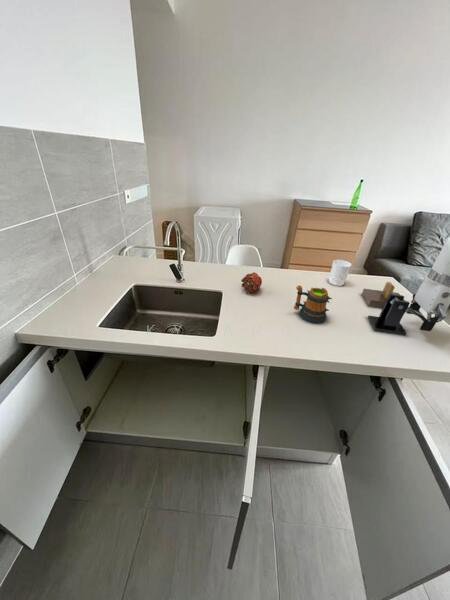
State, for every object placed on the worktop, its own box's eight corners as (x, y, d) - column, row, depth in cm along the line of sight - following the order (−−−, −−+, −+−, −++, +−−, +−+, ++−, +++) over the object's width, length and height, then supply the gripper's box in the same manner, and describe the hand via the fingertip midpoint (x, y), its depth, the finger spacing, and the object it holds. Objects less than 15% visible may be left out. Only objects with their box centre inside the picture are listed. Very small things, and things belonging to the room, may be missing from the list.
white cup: (347, 286, 112) (354, 267, 107) (331, 286, 112) (337, 266, 107) (340, 279, 119) (347, 260, 114) (324, 278, 119) (330, 259, 113)
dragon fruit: (249, 300, 101) (248, 290, 112) (267, 290, 98) (264, 281, 109) (238, 284, 98) (238, 275, 109) (256, 273, 96) (255, 265, 107)
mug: (325, 311, 94) (333, 284, 88) (327, 326, 85) (337, 298, 79) (291, 305, 96) (296, 279, 90) (290, 319, 88) (296, 291, 82)
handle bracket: (395, 322, 90) (410, 294, 84) (405, 335, 83) (421, 306, 77) (367, 317, 91) (379, 290, 85) (374, 331, 84) (387, 302, 78)
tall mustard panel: (381, 293, 102) (386, 281, 99) (385, 293, 102) (390, 281, 99) (385, 298, 98) (391, 286, 95) (389, 299, 98) (395, 286, 95)
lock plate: (395, 298, 105) (398, 292, 103) (405, 311, 96) (409, 304, 95) (361, 294, 107) (363, 288, 105) (368, 306, 98) (371, 299, 97)
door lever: (415, 314, 86) (421, 309, 84) (424, 324, 81) (430, 319, 79) (387, 299, 85) (393, 294, 84) (394, 308, 80) (400, 303, 78)
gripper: (476, 292, 67) (444, 339, 76) (441, 267, 82) (417, 309, 91) (446, 288, 68) (418, 335, 77) (416, 264, 83) (395, 306, 92)
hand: (417, 321), depth 84 cm, fingers open, 9 cm apart
